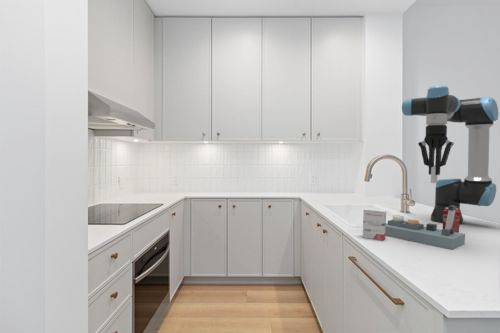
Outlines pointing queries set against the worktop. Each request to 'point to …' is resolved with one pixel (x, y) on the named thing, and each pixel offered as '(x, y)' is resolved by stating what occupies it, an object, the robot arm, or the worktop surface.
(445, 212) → the beverage can
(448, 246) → the panel
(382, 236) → the ink box
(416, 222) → the button terracotta
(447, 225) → the lever
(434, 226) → the slider knob
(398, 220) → the button ivory
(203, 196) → the worktop surface
